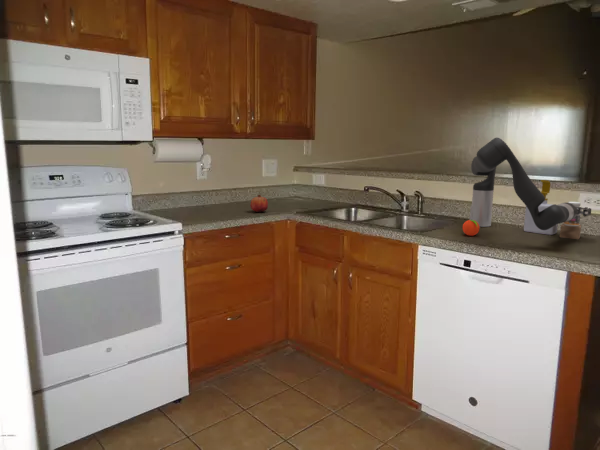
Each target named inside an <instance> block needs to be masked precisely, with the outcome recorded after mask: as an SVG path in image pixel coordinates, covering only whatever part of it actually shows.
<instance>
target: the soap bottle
mask: <svg viewBox="0 0 600 450" xmlns="http://www.w3.org/2000/svg"><path fill="white" fill-rule="evenodd" d="M540 182H541V183H542V184H541V185H542V186H541V190H540V192H541V193H542V194H543V195H544V197H545V201H544V202H543V203H542V204H541V205H540V206H539V207H538V210H539V212H541V211H542V210H544V209H546V208H547V207H549V206H551V205H554V204H553V203H548V201H549V199H548V198H547V196H548V194H549V193H550V190H551V181H549V180H547V179H545V180H544V179H542V180H540ZM524 211H525V212H524V222H523V223H524V224H523V231H524V232H528V233H533V234H543V235H548V236H549V235H550V236H552V235H555V234H557V233H558V226H559V224H557V225H555V226H553V227H551V228H550V229H548V230H541V229H539V228H538V227H537V226H536V225H535V223H534V221H533V218H532V216H531V214H530V212H529V210H528V208H527V206H526V205H525V210H524Z"/></svg>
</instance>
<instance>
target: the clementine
mask: <svg viewBox="0 0 600 450" xmlns="http://www.w3.org/2000/svg"><path fill="white" fill-rule="evenodd" d="M480 228H481V227H480V226H479V224H478V223H477V222H476V221H475V220H472V219H471V220H470V219H468V220H465V221H464V223H463V224H462V232H463V233H464V234H465V235H467V236H471V237H473V236H475V235H477V234H478V233H479V232H480Z"/></svg>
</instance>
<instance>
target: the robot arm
mask: <svg viewBox="0 0 600 450" xmlns="http://www.w3.org/2000/svg"><path fill="white" fill-rule="evenodd" d="M505 161H507V163H508V164H509V167H510V169H511V173H512V184H513V190H514V192H515V194H516V195H517V197H518V198H519V199H520V201H521V202H522V203H523V204H524V205H525V207H526V206H527V208H528V210H529V212H530V214H531V216H532V218H533V221H534V223H535V225H536V226H537V227H538V228H539V229H541V230H548V229H550V228H551V227H553V226H555V225H557V224H558V225H560V224H563V223H564V222H567V221H569V220H572V219H573V218H574V217H575V216H576V215H580V216H583V217H589V216H590V215H592V208H590V207H589V208H588V207H587V206H585V207H582V206H579V207H575V206H574V205H573V204H571V203H568V202H561V203H558V204H557V203H556V204H554V205H551V206H549V207H547V208H546V209H544V210H542V211H541V212H539V210H538V207H539V206H540V205H541V204H542V203H543V202H544V201H545V197H544V195H543V194H542V193H541V190H540V189H539V188H538V187H537V186H536V184H535V183H534V182H533V181H532V180H531V178H530V177H529V175H528V173H527V172H526V170H525V169H524V168H523V166H522V165H521V163H520V161H519V159H517V157H516V155H515V154H514V152H513V150H512V149H511V148H510V146H509V145H508V144H507V143H506V142H505V141H504V139H502V138H500V137H494V138H493V139H491V140H490V141H489V142H487V143H486V144H484V145H483V146H482V147H481V148H480V149H478V150H477V152H476V156H475V157H474V158H472V161H471V164H470V165H471V167H470V168H471V173H472V174H473V175H474V176H481V177H482V176H483V177H484V176H485V177H486V178H485V179H483V180H481V181H479V182H475V183H474V184H473V185H472V198H471V205H470V206H469V207H470V210H469V220H471V219H472V220H475V221H476V222H477V223H478V224H479V227H480V228H481V227H483V228H484V227H487V228H488V227H491V226H492V215H493V214H492V213H493V204H494V203H493V202H494V193H495V192H494V190H495V179H496V178H495V177H496V171H497V167H498V166H499V165H501V164H502V163H504V162H505ZM577 208H578V209H577Z"/></svg>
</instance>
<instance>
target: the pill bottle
mask: <svg viewBox="0 0 600 450" xmlns="http://www.w3.org/2000/svg"><path fill="white" fill-rule="evenodd" d="M567 203H571V204H573V205H574V206H575V207H581V202H579V201H568V202H567ZM577 209H578V208H577ZM580 220H581V215H576V216H575V217H574V218H573V219H572V220H569V221H567V222H564V225H566V226H579V225H580Z"/></svg>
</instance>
